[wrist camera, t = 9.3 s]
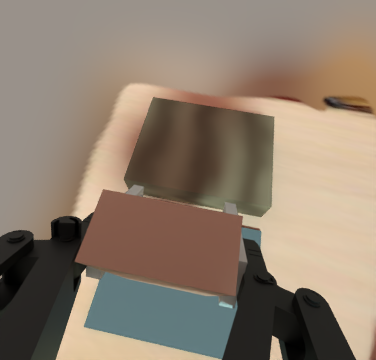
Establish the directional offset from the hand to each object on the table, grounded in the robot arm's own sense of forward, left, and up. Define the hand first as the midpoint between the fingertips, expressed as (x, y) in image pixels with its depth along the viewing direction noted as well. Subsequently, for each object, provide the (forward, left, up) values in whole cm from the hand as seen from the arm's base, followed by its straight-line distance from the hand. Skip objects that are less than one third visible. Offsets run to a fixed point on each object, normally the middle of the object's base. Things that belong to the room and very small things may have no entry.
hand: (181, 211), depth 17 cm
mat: (-1, +3, -13) cm, 14 cm away
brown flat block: (-1, -13, -13) cm, 18 cm away
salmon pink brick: (0, +4, -3) cm, 5 cm away
